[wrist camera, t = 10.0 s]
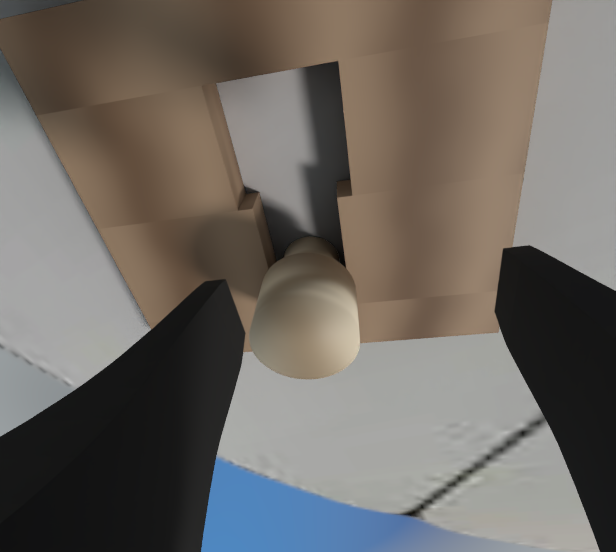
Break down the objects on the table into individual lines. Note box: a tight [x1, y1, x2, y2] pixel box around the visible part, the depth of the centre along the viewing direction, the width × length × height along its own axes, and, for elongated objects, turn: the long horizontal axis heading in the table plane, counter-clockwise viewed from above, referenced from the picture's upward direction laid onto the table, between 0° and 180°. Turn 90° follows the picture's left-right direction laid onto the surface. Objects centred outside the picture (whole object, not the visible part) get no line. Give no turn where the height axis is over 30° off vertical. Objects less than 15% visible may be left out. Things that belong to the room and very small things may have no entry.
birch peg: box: [249, 237, 360, 379], centre depth 19 cm, size 5×5×6 cm
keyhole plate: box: [0, 0, 552, 352], centre depth 19 cm, size 20×18×2 cm
